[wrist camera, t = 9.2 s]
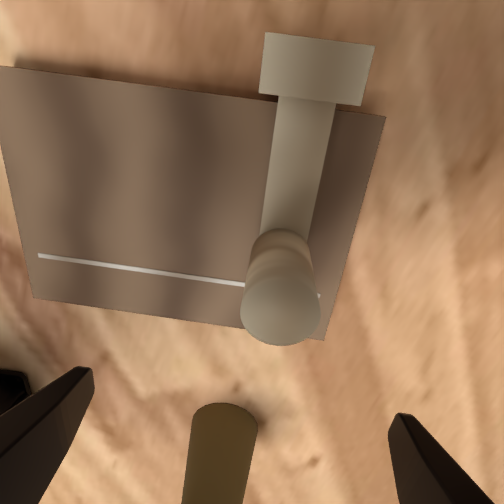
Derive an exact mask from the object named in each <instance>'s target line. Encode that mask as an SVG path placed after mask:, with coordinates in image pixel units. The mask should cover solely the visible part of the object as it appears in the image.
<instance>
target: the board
mask: <svg viewBox="0 0 504 504" xmlns="http://www.w3.org/2000/svg"><path fill="white" fill-rule="evenodd" d="M277 105H278V102H273V101H266V100H258V99H251V98H243V97H236V96H228V95H220V94H213V93H205V92H198V91H190V90H183V89H175V88H167V87H160V86H152V85H145V84H137V83H130V82H122V81H115V80H107V79H99V78H92V77H84V76H77V75H69V74H62V73H54V72H47V71H39V70H31V69H24V68H16V67H8V66H0V145H1V150H2V154H3V159H4V164H5V168H6V173H7V178H8V182H9V187H10V191H11V196H12V201H13V205H14V210H15V215H16V219H17V224H18V229H19V233H20V238H21V242H22V247H23V252H24V256H25V261H26V266H27V270H28V275H29V279H30V284H31V289H32V293H33V298H36V299H43V300H50V301H57V302H64V303H71V304H77V305H84V306H91V307H98V308H105V309H111V310H118V311H125V312H132V313H139V314H145V315H152V316H159V317H166V318H173V319H180V320H186V321H193V322H200V323H207V324H214V325H220V326H227V327H234V328H241V329H245V327H244V325H243V323H242V321H241V316H240V308H241V303H242V297H243V292H244V287H245V282H246V276H247V271H248V266H249V260H250V255H251V250H252V246H253V244H254V242H255V241H256V239H257V238H258V237H259V234H260V227H261V220H262V213H263V206H264V198H265V191H266V184H267V177H268V170H269V163H270V155H271V148H272V141H273V134H274V127H275V120H276V113H277ZM385 119H386V117H384V116H378V115H372V114H364V113H356V112H349V111H341V110H335V112H334V117H333V122H332V126H331V131H330V136H329V141H328V145H327V150H326V155H325V159H324V164H323V169H322V173H321V178H320V183H319V188H318V192H317V197H316V202H315V206H314V211H313V216H312V221H311V225H310V230H309V235H308V239H307V245H308V247H309V251H310V257H311V262H312V267H313V272H314V278H315V283H316V288H317V294H318V299H319V304H320V310H321V317H320V322H319V325H318V326H317V328H316V330H315V331H314V332H313V333H312V334H311V335H310V336H309V337H308V338H309V339H316V340H323V341H324V338H325V335H326V331H327V327H328V324H329V320H330V317H331V313H332V309H333V306H334V302H335V299H336V295H337V292H338V288H339V284H340V281H341V277H342V274H343V270H344V266H345V263H346V259H347V256H348V252H349V248H350V245H351V241H352V238H353V234H354V231H355V227H356V223H357V220H358V216H359V213H360V209H361V205H362V202H363V198H364V195H365V191H366V188H367V184H368V180H369V177H370V173H371V170H372V166H373V162H374V159H375V155H376V152H377V148H378V145H379V141H380V137H381V134H382V130H383V127H384V123H385Z"/></svg>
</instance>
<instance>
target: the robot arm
mask: <svg viewBox="0 0 504 504" xmlns="http://www.w3.org/2000/svg"><path fill="white" fill-rule="evenodd" d="M94 389H95V386H94V378H93V371H92V369H91V368H89V367H82V366H77V367H75V368H73V369H72V370H70V371H69V372H67V373H65V374H64V375H62V376H61V377H59V378H58V379H56V380H55V381H53V382H52V383H50V384H48V385H47V386H45V387H44V388H42V389H41V390H39V391H38V392H36V393H35V394H33V395H31V391H30V388H29V384H28V380H27V377H26V375H25V374H23V373H21V372H14V371H8V370H1V369H0V504H38V503H39V501H40V500H41V498H42V496H43V494H44V493H45V491H46V489H47V487H48V486H49V484H50V482H51V480H52V478H53V477H54V475H55V473H56V471H57V470H58V468H59V466H60V464H61V463H62V461H63V459H64V457H65V455H66V454H67V452H68V450H69V448H70V446H71V444H72V442H73V439H74V437H75V435H76V433H77V430H78V428H79V426H80V424H81V421H82V419H83V417H84V415H85V412H86V410H87V408H88V406H89V404H90V401H91V399H92V397H93V394H94ZM388 442H389V448H390V454H391V460H392V466H393V471H394V477H395V483H396V489H397V494H398V499H399V503H400V504H494V503H493V502H492V500H491V499H490V498H489V497H488V496H487V495H486V494H485V493H484V492H483V491H482V490H481V489H480V487H479V486H478V485H477V484H476V483H475V482H474V481H473V480H472V479H471V478H470V477H469V475H468V474H467V473H466V472H465V471H464V470H463V469H462V468H461V467H460V466H459V465H458V464H457V462H456V461H455V460H454V459H453V458H452V457H451V456H450V455H449V454H448V453H447V452H446V450H445V449H444V448H443V447H442V446H441V445H440V444H439V443H438V442H437V441H436V440H435V439H434V437H433V436H432V435H431V434H430V433H429V432H428V431H427V430H426V429H425V428H424V427H423V425H422V424H421V423H420V422H419V421H418V420H417V419H416V418H415V417H414V416H413V415H411V414H406V413H397V414H396V415H395V417H394V420H393V422H392V424H391V426H390V428H389V431H388Z"/></svg>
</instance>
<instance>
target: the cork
mask: <svg viewBox="0 0 504 504" xmlns="http://www.w3.org/2000/svg"><path fill="white" fill-rule="evenodd" d="M257 432H258V428H257V422H256V421H255V419H254V417H253V416H252V415H251V414H250V413H249V412H247V411H246V410H245V409H242V408H240V407H238V406H236V405H232V404H227V403H213V404H209V405H205V406H204V407H202V408H200V409H198V410H197V412H196V413H195V414H194V415H193V420H192V426H191V433H190V441H189V449H188V456H187V464H186V472H185V480H184V487H183V495H182V503H181V504H242V503H243V498H244V494H245V489H246V484H247V479H248V475H249V470H250V465H251V460H252V455H253V451H254V446H255V441H256V436H257Z"/></svg>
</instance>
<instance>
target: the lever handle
mask: <svg viewBox="0 0 504 504" xmlns="http://www.w3.org/2000/svg"><path fill="white" fill-rule="evenodd" d="M374 49H375V46H373V45H365V44H357V43H350V42H342V41H334V40H326V39H318V38H310V37H303V36H295V35H287V34H279V33H271V32H265V40H264V48H263V57H262V66H261V75H260V83H259V92H258V93H262V94H268V95H275V96H279V98H278V105H277V113H276V120H275V127H274V134H273V141H272V148H271V155H270V163H269V170H268V177H267V184H266V191H265V198H264V206H263V213H262V220H261V227H260V234H259V237H258V238H257V239H256V241H255V242H254V244H253V246H252V250H251V255H250V260H249V266H248V271H247V276H246V282H245V287H244V292H243V297H242V303H241V308H240V316H241V321H242V323H243V325H244V327H245V329H246V330H247V331H248V332H249V333H250V334H251V335H252V336H253V337H254V338H256V339H257V340H259V341H261V342H264V343H266V344H270V345H276V346H287V345H293V344H296V343H299V342H301V341H303V340H305V339H306V338H308V337H309V336H310V335H311V334H312V333H313V332H314V331H315V330H316V328H317V326H318V325H319V322H320V317H321V310H320V304H319V299H318V294H317V288H316V283H315V278H314V272H313V267H312V262H311V257H310V251H309V247H308V245H307V239H308V235H309V230H310V225H311V221H312V216H313V211H314V206H315V202H316V197H317V192H318V188H319V183H320V178H321V173H322V169H323V164H324V159H325V155H326V150H327V145H328V141H329V136H330V131H331V126H332V122H333V117H334V112H335V108H336V104H344V105H354V106H361V103H362V98H363V94H364V90H365V86H366V82H367V78H368V74H369V70H370V66H371V61H372V57H373V53H374Z"/></svg>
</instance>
